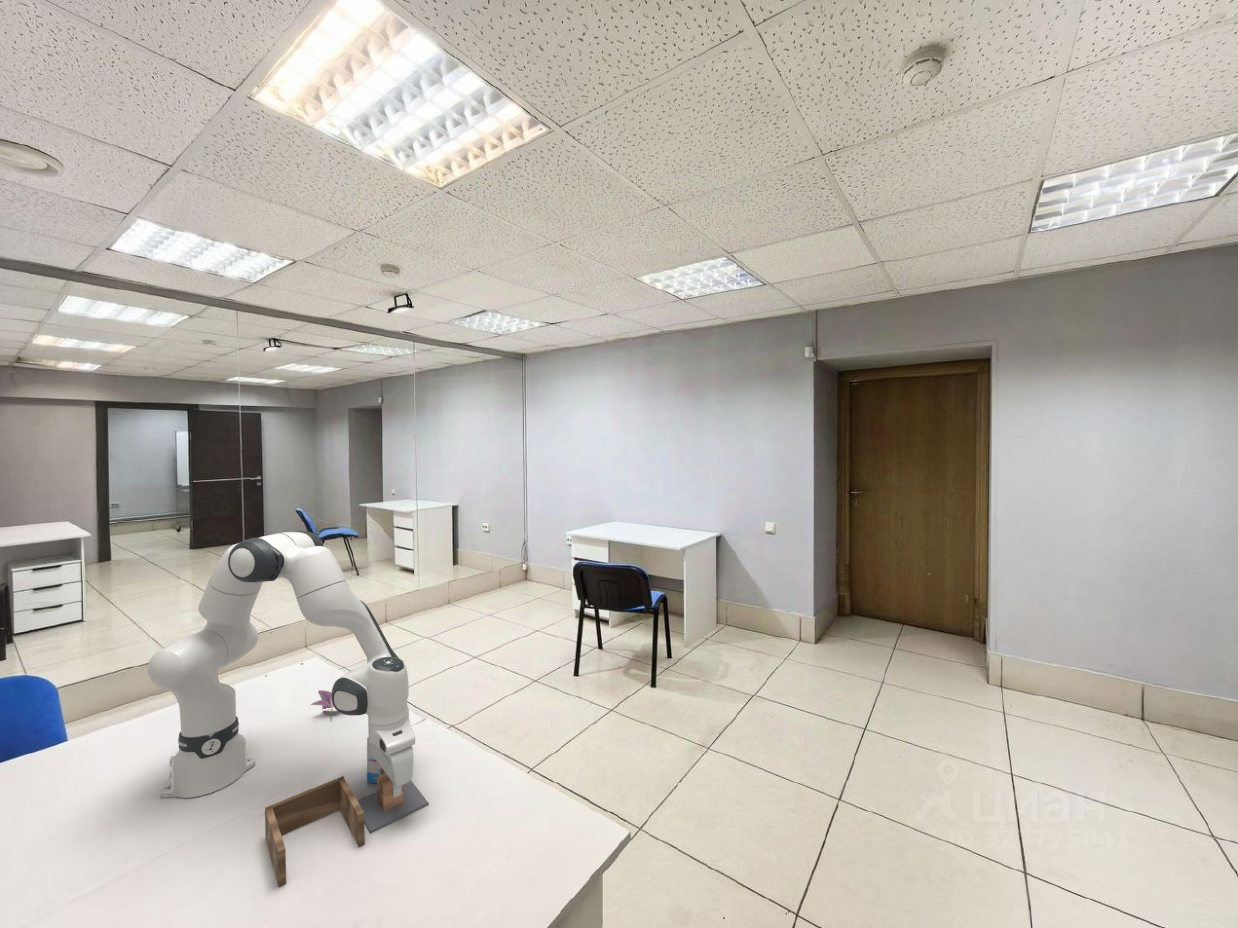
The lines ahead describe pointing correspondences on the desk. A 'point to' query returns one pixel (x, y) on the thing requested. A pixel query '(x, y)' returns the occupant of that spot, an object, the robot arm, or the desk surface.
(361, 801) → the slate mat
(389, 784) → the terracotta block
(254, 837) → the desk surface
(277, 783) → the desk surface
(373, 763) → the ink box
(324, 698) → the lily
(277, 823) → the walnut cubby
